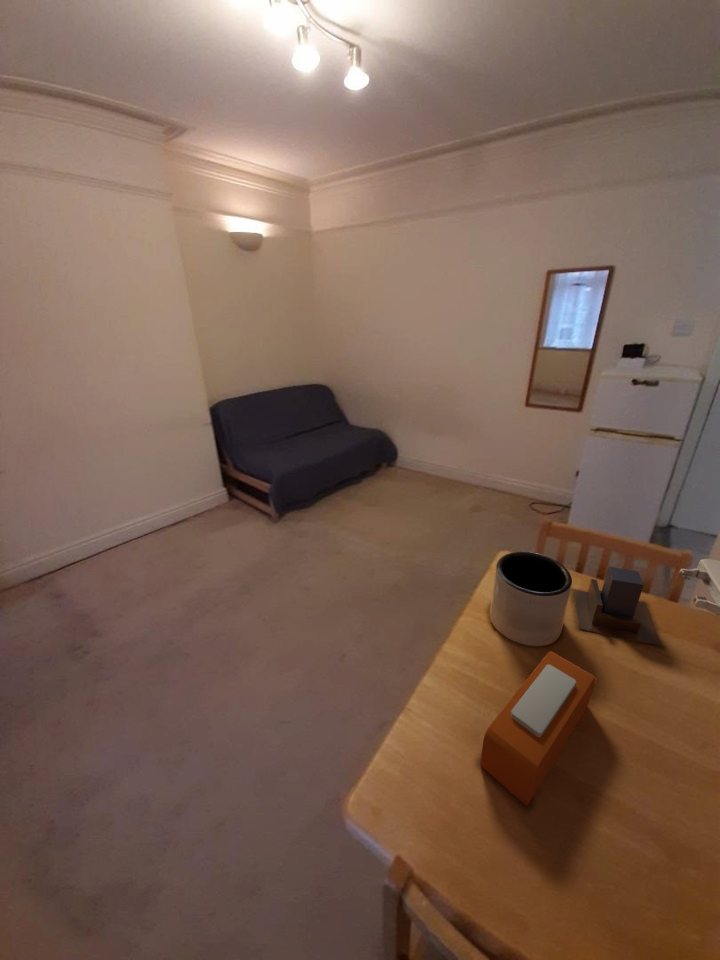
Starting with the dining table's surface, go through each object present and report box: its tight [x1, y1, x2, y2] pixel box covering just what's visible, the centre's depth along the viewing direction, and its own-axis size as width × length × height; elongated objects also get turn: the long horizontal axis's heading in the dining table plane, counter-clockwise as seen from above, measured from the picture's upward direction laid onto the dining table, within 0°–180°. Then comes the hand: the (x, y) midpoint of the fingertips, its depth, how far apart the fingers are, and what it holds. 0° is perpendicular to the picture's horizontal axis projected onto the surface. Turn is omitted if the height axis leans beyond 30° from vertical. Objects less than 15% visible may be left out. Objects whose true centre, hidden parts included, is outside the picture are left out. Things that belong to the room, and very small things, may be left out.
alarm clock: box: [479, 651, 596, 806], centre depth 70 cm, size 24×8×11 cm, turn 132°
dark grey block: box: [601, 566, 644, 619], centre depth 93 cm, size 6×5×12 cm
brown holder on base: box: [572, 578, 662, 648], centre depth 95 cm, size 16×14×8 cm
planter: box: [489, 551, 573, 647], centre depth 94 cm, size 16×16×16 cm
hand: (687, 586), depth 87 cm, fingers open, 8 cm apart
